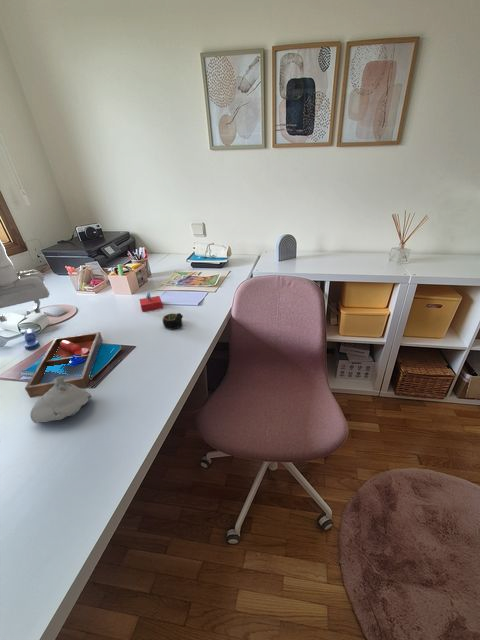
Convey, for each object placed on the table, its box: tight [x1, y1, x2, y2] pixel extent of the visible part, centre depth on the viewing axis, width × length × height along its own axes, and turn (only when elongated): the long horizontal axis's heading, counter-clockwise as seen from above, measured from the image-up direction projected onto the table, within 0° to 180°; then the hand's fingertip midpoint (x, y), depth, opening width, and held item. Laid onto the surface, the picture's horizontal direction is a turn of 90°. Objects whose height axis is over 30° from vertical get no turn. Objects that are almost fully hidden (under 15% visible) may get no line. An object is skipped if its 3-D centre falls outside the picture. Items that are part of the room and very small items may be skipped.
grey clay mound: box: [29, 376, 93, 424], centre depth 71 cm, size 12×12×11 cm
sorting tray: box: [24, 332, 103, 398], centre depth 89 cm, size 14×26×3 cm, turn 15°
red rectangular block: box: [139, 291, 164, 313], centre depth 121 cm, size 8×7×6 cm
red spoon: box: [60, 340, 90, 355], centre depth 93 cm, size 12×4×3 cm, turn 60°
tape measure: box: [161, 312, 184, 330], centre depth 108 cm, size 7×7×4 cm
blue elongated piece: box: [23, 328, 41, 351], centre depth 101 cm, size 12×4×3 cm, turn 35°
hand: (21, 316), depth 98 cm, fingers open, 8 cm apart
